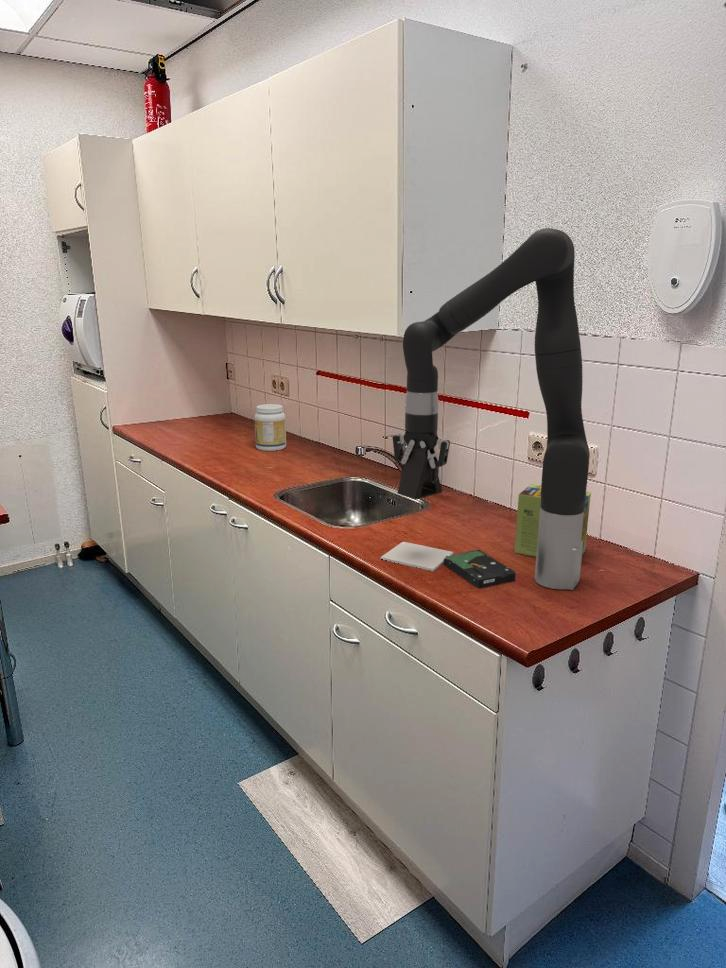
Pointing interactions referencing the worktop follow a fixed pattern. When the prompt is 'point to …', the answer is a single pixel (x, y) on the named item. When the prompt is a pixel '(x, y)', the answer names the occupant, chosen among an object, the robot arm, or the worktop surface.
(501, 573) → the disk drive
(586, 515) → the protein box
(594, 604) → the worktop surface
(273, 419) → the supplement tub
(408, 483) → the phone stand
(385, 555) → the grey mat
